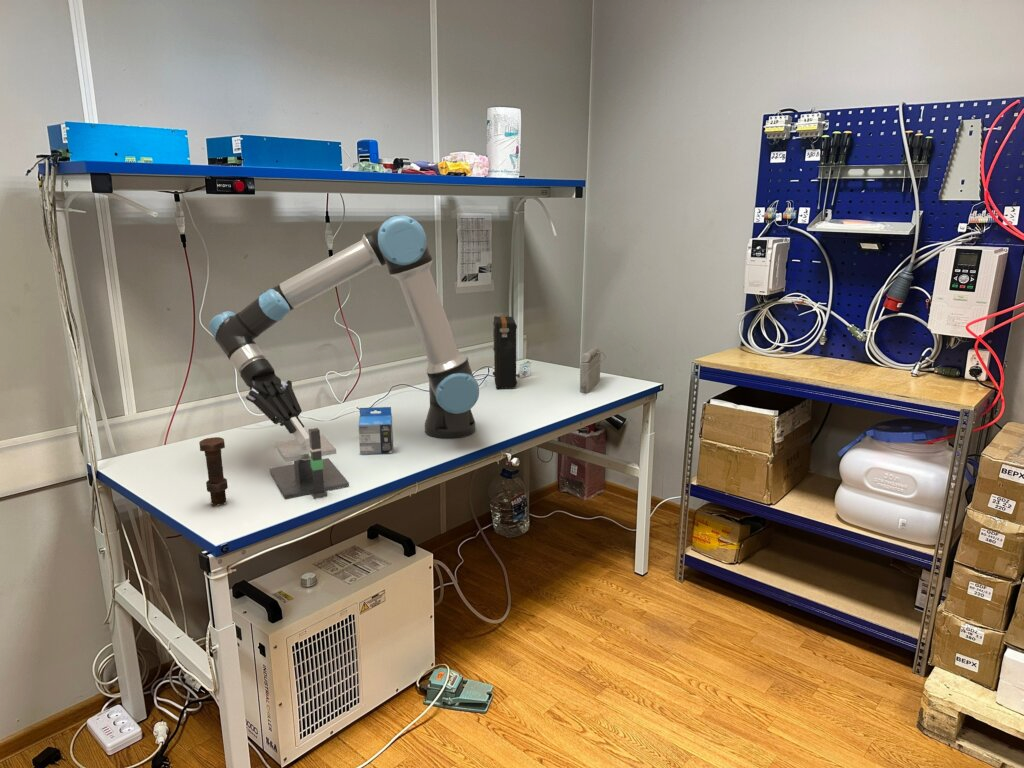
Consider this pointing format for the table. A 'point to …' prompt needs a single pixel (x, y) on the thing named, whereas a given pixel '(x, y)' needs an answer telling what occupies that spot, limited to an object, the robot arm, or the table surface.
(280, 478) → the stand
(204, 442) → the bolt
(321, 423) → the table surface
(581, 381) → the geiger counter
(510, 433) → the table surface
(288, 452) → the pan
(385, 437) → the label tape box
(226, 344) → the robot arm
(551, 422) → the table surface
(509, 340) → the black case
